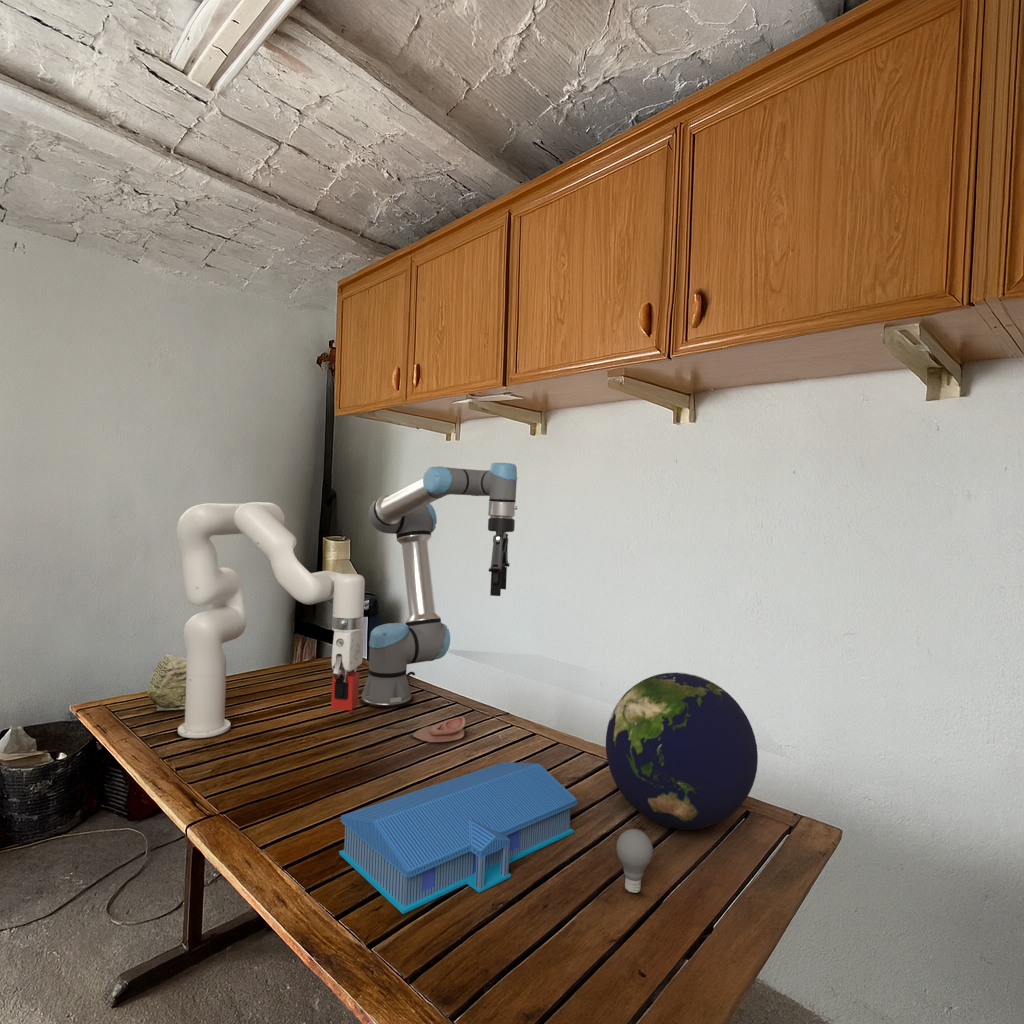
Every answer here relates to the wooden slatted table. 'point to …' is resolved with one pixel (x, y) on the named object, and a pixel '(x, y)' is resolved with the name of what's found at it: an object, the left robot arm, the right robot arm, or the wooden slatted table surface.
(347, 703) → the brick
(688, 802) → the globe
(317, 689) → the wooden slatted table surface
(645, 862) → the light bulb
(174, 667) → the fossil
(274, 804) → the wooden slatted table surface
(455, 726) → the anatomical model
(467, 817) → the model building
